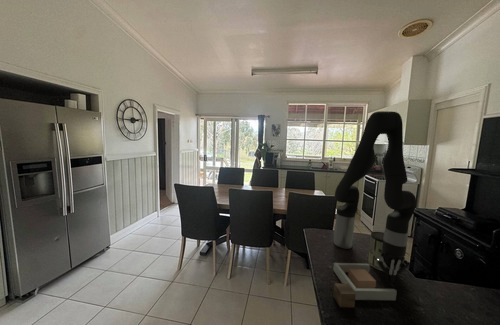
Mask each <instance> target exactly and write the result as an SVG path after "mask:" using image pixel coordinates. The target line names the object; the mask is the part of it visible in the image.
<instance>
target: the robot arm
mask: <svg viewBox="0 0 500 325" xmlns="http://www.w3.org/2000/svg"><path fill="white" fill-rule="evenodd" d="M403 128H404V127H403V119H402V116H401V114H400V113H399V112H397V111H388V110H385V111H382V110H380V111H377V110H376V111H374V112H372V113H371V115H370V116H369V117H368V119H367V121H366V124H365V126H364V129H363V132H362V135H361V138H360V140H359V143H358V145H357V147H356V150H355V152H354V154H353V156H352V158H351V160H350V162H349V165H348V167H347V169H346V171H345V173H344V174H343V177H342V178H341V180H340V182H339V184H337V186H336V188H335V191H334V198H335V201H337V202H338V203H343V205H342V206H338V207H337V208H336V213H335V214H336V216H335V224H334V229H333V230H334V231H333V244H334V245H335V246H336V247H338V248H341V249H345V250H347V249H351V248H352V247H353V240H354V239H353V238H354V230H355V220H356V214H357V211H358V206H359V202H360V190H359V188H358V187H357V186H355V185H354V184H356V183H357V182H358V181H360V180H361V179H363V178H364V177H366V176H367V175H368V174H369V173H370V171H371V170H372V168H373V166H374V165H375V162H376V153H375V149H374V147H375V143H376V141H377V139H378V138H379V136H380V135H386V137H387V149H386V153H385V155H384V157H383V162H382V169H383V175H384V180H385V184H384V191H383V192H384V194H383V198H384V202H385V203H386V206H388V208H390V209H392V210H393V211H392V212H390V213H389V214H387V216H386V221H385V228H384V232H383V233H384V238H383V246H382V249H383V252H382V254H381V257H380V258H375V260H376V262H377V263H378V265H379V266H380V268H381V269H382V270H383V271H382V272H384V274H385V275H384V276H385V277H384V280H385V281H386V282H387V283H388V284H394V282H395V279H396V275H397V274H400V275H401V274H402V273H403V272H404V271H405V270H406V269H407V268H408V267H409V266H410V265H411V263H410V262H409V260H407V259H405V257H406V253H407V247H408V241H409V240H408V239H409V238H408V237H409V236H408V235H409V234H408V232H409V227H410V225H409V224H410V221H411V218H412V217H413V215H414V212H415V210H416V206H417V198H416V196H415V194H414V193H413V192H411V191H409V190H403V185H404V184H406V183H407V182H408V175H407V170H406V165H405V159H404V140H403V139H404V135H403V134H404V132H403V130H404V129H403ZM344 203H345V204H344ZM383 260H384V262H385V266H384V265H383V264H384V262H383Z"/></svg>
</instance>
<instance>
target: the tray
mask: <svg viewBox="0 0 500 325" xmlns="http://www.w3.org/2000/svg"><path fill="white" fill-rule="evenodd" d="M370 267H371V265H370V264H369V263H360V262H359V263H355V262H354V263H353V262H351V263H350V262H334V263H333V270H332V271H333V272H334V273H335V275H336V276H337V278H338V279H339V280H340V282H341V284H349V286H350V287H351V288H352V290H353V291H354V292H355V294H356V297H355V301H396V300H397V294H398V293H397V289H395V288H375V289H367V288H356V287H355V286H354V284H353V283H352V282H351V281H350V279H349V278H348V274H346V273H348V271H349V269H365V270H366V271H367V272H368V273H369V274H370V269H371V268H370Z"/></svg>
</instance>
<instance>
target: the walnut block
mask: <svg viewBox="0 0 500 325" xmlns="http://www.w3.org/2000/svg"><path fill="white" fill-rule="evenodd" d="M332 295H333V298H334V300H335V301H336V303H337V305H338V306H339V308H355V305H356V300H355V297H356V294H355V292H354V291H353V290H352V288H351V287H350V286H349V284H343V283H337V282H335V283H334V284H333V294H332Z"/></svg>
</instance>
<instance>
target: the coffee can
mask: <svg viewBox="0 0 500 325" xmlns="http://www.w3.org/2000/svg"><path fill="white" fill-rule="evenodd" d="M383 238H384V232H383V231H372V232H371V233H370V243H369V250H368V251H369V252H368V258H367V259H368V261H367V264H369V265H370V267H372V268H374V269H376V270H378V271H382V272H384V271H383V270H382V269H381V268H380V266H379V265H378V263H377V262H376V260H375V258H380V257H381V254H382V252H383V249H382V246H383ZM383 262H384V260H383ZM383 265H384V266H385V262H384V264H383Z"/></svg>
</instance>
